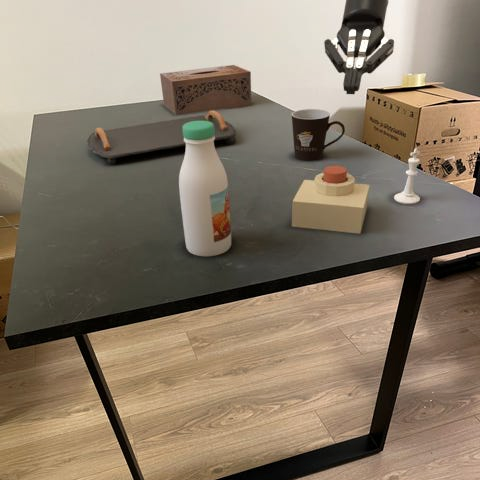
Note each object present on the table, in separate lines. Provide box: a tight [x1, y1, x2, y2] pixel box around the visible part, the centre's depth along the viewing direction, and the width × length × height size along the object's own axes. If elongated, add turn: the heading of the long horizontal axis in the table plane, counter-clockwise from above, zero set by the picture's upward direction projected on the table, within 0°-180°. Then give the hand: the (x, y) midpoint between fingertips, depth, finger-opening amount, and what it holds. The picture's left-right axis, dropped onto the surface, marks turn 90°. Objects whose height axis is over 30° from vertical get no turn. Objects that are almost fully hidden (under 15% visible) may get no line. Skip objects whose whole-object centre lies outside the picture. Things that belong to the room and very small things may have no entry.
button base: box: [291, 172, 370, 235], centre depth 84 cm, size 12×10×7 cm
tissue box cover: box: [159, 64, 252, 116], centre depth 153 cm, size 26×14×10 cm, turn 112°
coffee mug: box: [291, 108, 346, 162], centre depth 108 cm, size 12×9×10 cm
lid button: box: [323, 165, 348, 184], centre depth 83 cm, size 4×4×2 cm
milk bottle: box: [178, 121, 232, 257], centre depth 73 cm, size 8×8×20 cm
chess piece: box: [393, 148, 421, 205], centre depth 88 cm, size 5×5×10 cm
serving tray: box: [86, 110, 237, 166], centre depth 123 cm, size 39×23×6 cm, turn 114°
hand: (350, 91), depth 84 cm, fingers closed
